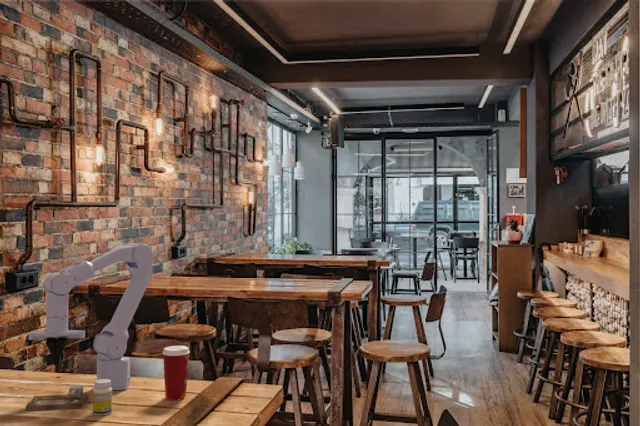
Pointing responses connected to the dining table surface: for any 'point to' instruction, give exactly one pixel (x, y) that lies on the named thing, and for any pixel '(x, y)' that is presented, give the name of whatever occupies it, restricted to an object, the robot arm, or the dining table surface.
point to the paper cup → (175, 371)
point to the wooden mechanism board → (56, 401)
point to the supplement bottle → (102, 397)
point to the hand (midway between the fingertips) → (56, 364)
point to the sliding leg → (75, 391)
